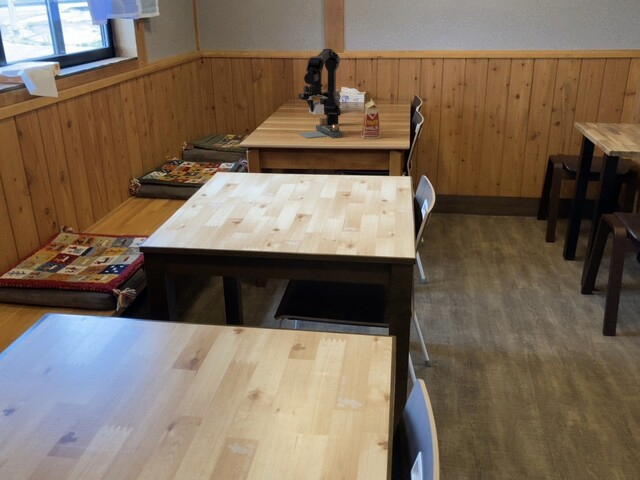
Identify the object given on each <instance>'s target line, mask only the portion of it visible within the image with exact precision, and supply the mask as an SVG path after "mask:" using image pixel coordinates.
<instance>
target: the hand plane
mask: <svg viewBox="0 0 640 480" xmlns="http://www.w3.org/2000/svg"><path fill="white" fill-rule="evenodd" d="M339 125H340V124H339V123H338V124H332V126H330V125H327V124H326V117H319V124H316V125H315V131H318V132H321V133H323V134H325V135H327V137H330V138H331V139H338V138H343V133H344V132H343V131H342V130H341V129H340V126H339Z"/></svg>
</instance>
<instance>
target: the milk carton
mask: <svg viewBox="0 0 640 480" xmlns="http://www.w3.org/2000/svg"><path fill="white" fill-rule="evenodd" d="M364 105H365V107H364V117H363V124H362V125H363V126H362V129H361V134H360V136H361V137H362V138H363V139H371V140H373V139H374V140H375V139H380V138H381V125H380V124H381V123H380V121H381V120H380V112H379V107H378V106H377V105H376V103H375V102H374V99H372V98H370V101H368V102H367V103H365V104H364Z"/></svg>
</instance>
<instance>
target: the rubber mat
mask: <svg viewBox="0 0 640 480" xmlns="http://www.w3.org/2000/svg"><path fill="white" fill-rule="evenodd" d="M297 135H299V136H300V137H302V138H304V139H306V140H307V138H308V139H317V138H326V137H328V136H327V135H325V134H323V133H321V132H319V131H317V130H315V131H308V132H298V134H297Z"/></svg>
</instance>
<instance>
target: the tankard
mask: <svg viewBox="0 0 640 480" xmlns="http://www.w3.org/2000/svg"><path fill="white" fill-rule="evenodd" d="M327 91H328V89H326V90H323V92H327ZM341 98H342V97H341V93H340V90H339V89H338V90H337V89H336V99H337V101H338V105H339V107H341V104H342V103H341V101H340V100H341ZM340 110H341V111H342V108H340Z"/></svg>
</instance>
